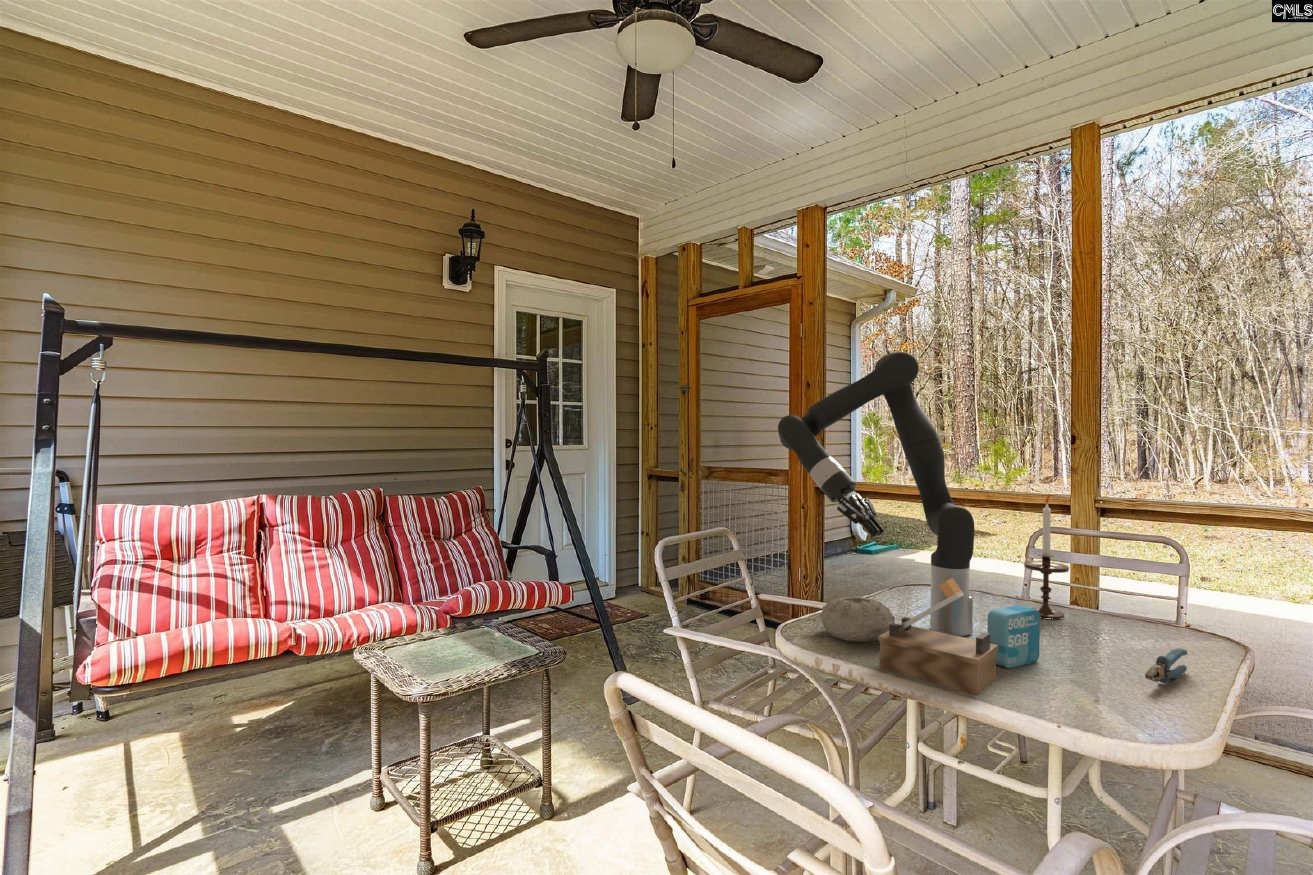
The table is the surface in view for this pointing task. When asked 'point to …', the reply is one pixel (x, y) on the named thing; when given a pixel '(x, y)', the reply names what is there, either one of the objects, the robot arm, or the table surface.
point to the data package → (1015, 635)
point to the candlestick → (1047, 567)
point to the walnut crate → (939, 657)
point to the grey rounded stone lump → (856, 618)
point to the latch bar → (951, 593)
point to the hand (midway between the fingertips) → (879, 533)
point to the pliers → (1167, 667)
